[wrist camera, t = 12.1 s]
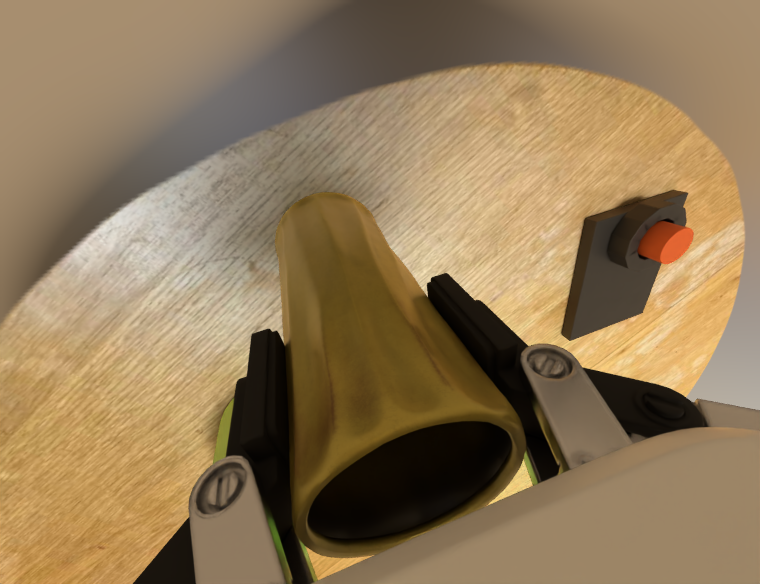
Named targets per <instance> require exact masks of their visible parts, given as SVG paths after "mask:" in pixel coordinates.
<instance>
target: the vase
mask: <svg viewBox="0 0 760 584" xmlns="http://www.w3.org/2000/svg"><path fill="white" fill-rule="evenodd" d="M275 249H276V253H277V257H278V261H279V275H280V286H281V302H282V322H283V337H284V345H285V360H286V378H287V397H288V422H289V459H290V489H291V503H292V520H293V525H294V530H295V534H296V535H297V537H298V539H299V540H300V541H301V542H302V543H303V545H305V546H306V547H308V548H309V549H310V550H312V551H314V552H315V553H317V554H320V555H322V556H327V557H335V558H355V557H364V556H372V555H377V554H379V553H381V552H383V551H386V550H388V549H390V548H392V547H395V546H397V545H399V544H402V543H404V542H406V541H408V540H411V539H413V538H415V537H417V536H420V535H422V534H424V533H427V532H429V531H431V530H433V529H436V528H438V527H440V526H442V525H445V524H447V523H449V522H452V521H454V520H456V519H458V518H461V517H463V516H465V515H467V514H470V513H472V512H474V511H477V510H479V509H481V508H483V507H485V506H486V505H488V504H489V503H490V502H491V501H492V500H493V499H495V498H496V497H497V496H498V495H499V494H500V493H501V492H502V491H503V490H504V489H505V488H506V487H507V485H508V484H509V483H510V482H511V480H512V479H513V477H514V476H515V474H516V473H517V471H518V470H519V468H520V466H521V464H522V461H523V459H524V456H525V452H526V438H525V433H524V430H523V427H522V423H521V420H520V418H519V416H518V415H517V413H516V412H515V410H514V408H513V407H512V405H511V404H510V403H509V402H508V400H507V399H506V397H505V396H504V395H503V394H502V393H501V392H500V391H499V390H498V388H497V387H496V386H495V385H494V383H493V382H492V381H491V379H490V378H489V377H488V376H487V374H486V373H485V372H484V371H483V369H482V368H481V367H480V365H479V364H478V363H477V362H476V360H475V359H474V358H473V356H472V355H471V354H470V352H469V351H468V350H467V348H466V347H465V346H464V344H463V343H462V342H461V340H460V339H459V338H458V336H457V335H456V334H455V332H454V331H453V330H452V329H451V327H450V326H449V325H448V324H447V322H446V321H445V320H444V319H443V317H442V316H441V315H440V314H439V312H438V311H437V310H436V308H435V307H434V305H433V304H432V303H431V301H430V300H429V298H428V297H427V296H426V294H425V293H424V291H423V290H422V289H421V287H420V286H419V284H418V283H417V281H416V280H415V278H414V277H413V275H412V274H411V273H410V272H409V270H408V269H407V267H406V266H405V265H404V264H403V262H402V261H401V260H400V259H399V258H398V256H397V255H396V254H395V253H394V252H393V250H392V249H391V248H390V247H389V245H388V243H387V242H386V240H385V237H384V235H383V234H382V232H381V230H380V228H379V227H378V225H377V224H376V221H375V219H374V217H373V215H372V213H371V212H370V211H369V210H368V209H367V208H366V207H365V206H364V205H363V204H361V203H360V202H358V201H357V200H355V199H353V198H352V197H350V196H348V195H345V194H341V193H334V192H321V193H315V194H312V195H309V196H306V197H304V198H302V199H301V200H299V201H297V202H296V203H294V204H293V205H292V206H291V207H290V208H289V209H288V210H287V211H286V212H285V213H284V215H283V216H282V218H281V220H280V222H279V224H278V227H277V230H276V235H275Z"/></svg>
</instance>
